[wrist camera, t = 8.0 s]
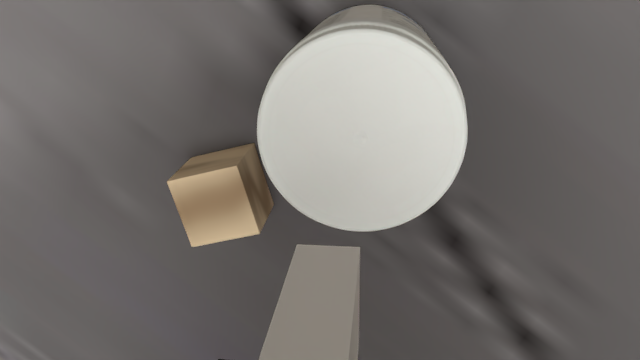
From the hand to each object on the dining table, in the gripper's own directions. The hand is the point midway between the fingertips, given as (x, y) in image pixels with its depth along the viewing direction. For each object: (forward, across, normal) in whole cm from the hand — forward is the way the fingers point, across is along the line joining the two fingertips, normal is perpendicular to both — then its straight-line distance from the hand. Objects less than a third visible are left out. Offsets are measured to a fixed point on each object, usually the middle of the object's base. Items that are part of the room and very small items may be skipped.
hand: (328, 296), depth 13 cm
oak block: (+27, +10, +8) cm, 29 cm away
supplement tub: (+27, 0, 0) cm, 27 cm away
